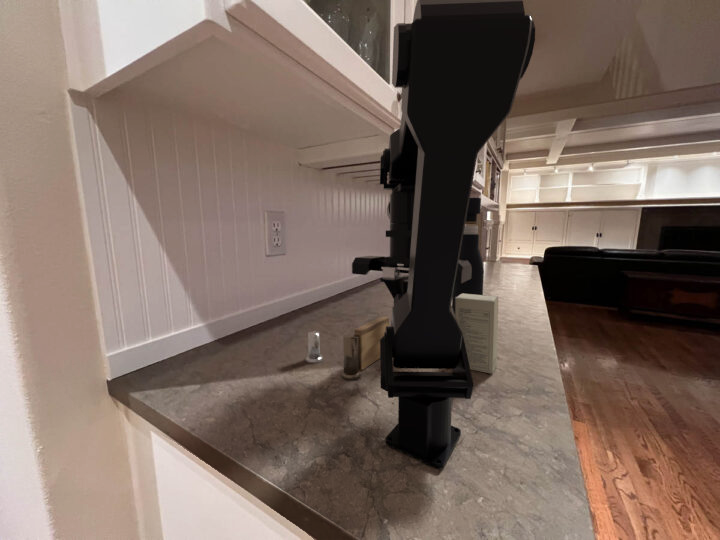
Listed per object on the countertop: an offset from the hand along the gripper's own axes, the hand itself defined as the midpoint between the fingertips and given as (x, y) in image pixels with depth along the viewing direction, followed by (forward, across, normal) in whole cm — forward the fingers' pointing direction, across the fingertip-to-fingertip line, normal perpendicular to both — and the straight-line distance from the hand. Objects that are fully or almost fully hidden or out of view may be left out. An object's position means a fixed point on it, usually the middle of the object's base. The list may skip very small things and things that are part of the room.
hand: (406, 319), depth 48 cm
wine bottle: (+9, -3, -24) cm, 26 cm away
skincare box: (+9, -9, -8) cm, 15 cm away
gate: (+8, +6, +1) cm, 11 cm away
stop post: (+9, +15, +6) cm, 19 cm away
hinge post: (+9, +6, +7) cm, 13 cm away
